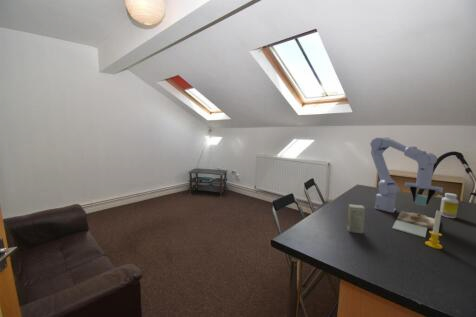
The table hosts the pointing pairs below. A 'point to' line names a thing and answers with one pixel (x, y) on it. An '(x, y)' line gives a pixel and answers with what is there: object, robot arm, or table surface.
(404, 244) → the table surface
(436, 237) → the candle
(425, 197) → the teal cube
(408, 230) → the coaster
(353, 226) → the skincare box
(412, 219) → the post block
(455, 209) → the supplement bottle
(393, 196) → the robot arm
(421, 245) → the table surface
